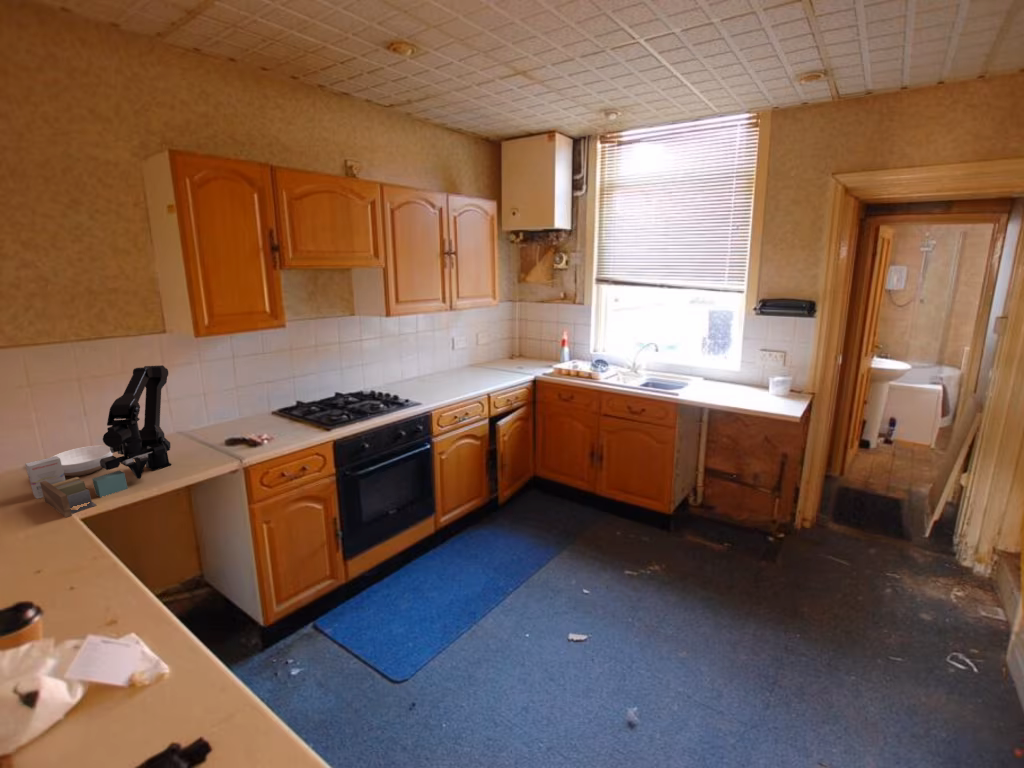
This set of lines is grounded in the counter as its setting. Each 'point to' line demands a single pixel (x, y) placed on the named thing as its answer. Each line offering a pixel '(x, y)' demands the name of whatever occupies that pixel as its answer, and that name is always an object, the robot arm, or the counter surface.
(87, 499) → the grey metal bookend
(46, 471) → the ink box
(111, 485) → the grey teal rectangular block
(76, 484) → the row of shelved books
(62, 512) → the walnut back wall
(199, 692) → the counter surface
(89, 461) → the bowl
